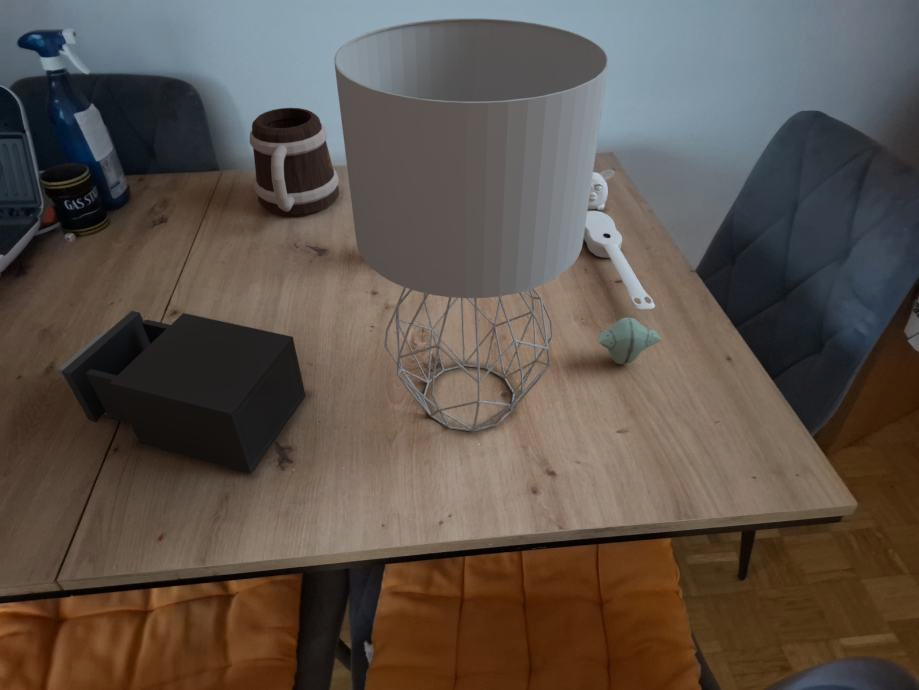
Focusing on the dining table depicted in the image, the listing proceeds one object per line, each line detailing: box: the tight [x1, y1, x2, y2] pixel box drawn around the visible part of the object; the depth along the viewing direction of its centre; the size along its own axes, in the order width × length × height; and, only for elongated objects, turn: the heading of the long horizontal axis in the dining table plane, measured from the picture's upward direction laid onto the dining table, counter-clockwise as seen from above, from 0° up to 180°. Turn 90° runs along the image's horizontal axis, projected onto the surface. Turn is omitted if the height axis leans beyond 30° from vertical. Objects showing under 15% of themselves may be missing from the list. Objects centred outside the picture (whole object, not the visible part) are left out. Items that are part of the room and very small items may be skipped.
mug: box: [249, 107, 340, 217], centre depth 111 cm, size 20×15×15 cm
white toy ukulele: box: [583, 210, 656, 311], centre depth 99 cm, size 28×6×3 cm, turn 7°
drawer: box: [56, 310, 171, 425], centre depth 75 cm, size 18×11×8 cm, turn 72°
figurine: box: [587, 169, 615, 212], centre depth 114 cm, size 8×6×7 cm
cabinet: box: [110, 312, 307, 475], centre depth 72 cm, size 15×13×10 cm
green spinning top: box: [598, 316, 663, 365], centre depth 81 cm, size 8×4×7 cm, turn 93°
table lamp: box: [333, 17, 610, 432], centre depth 65 cm, size 22×22×40 cm
